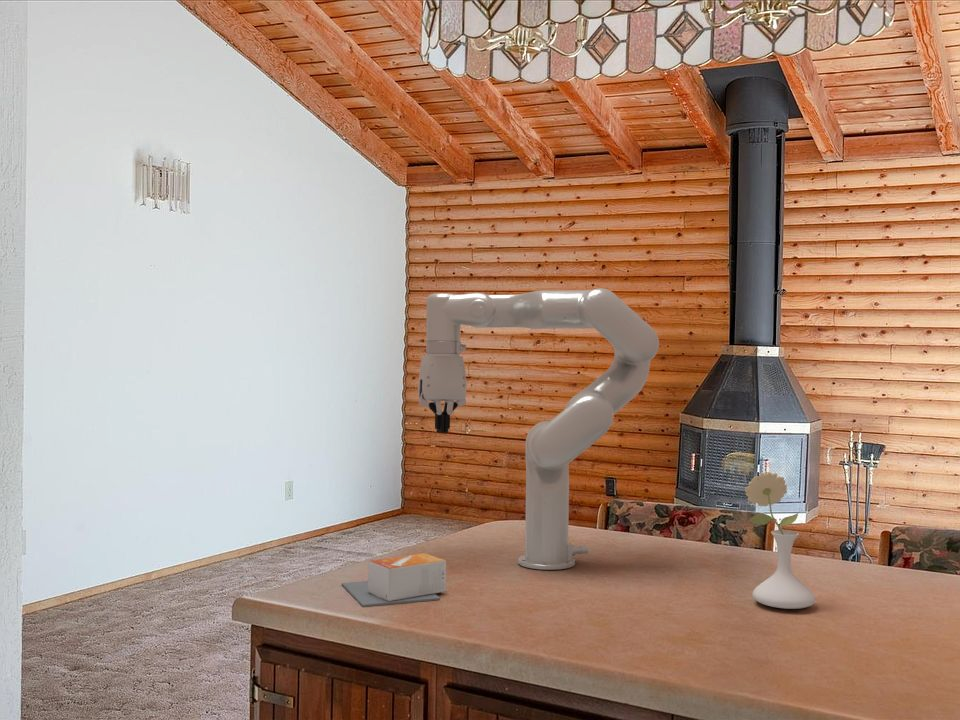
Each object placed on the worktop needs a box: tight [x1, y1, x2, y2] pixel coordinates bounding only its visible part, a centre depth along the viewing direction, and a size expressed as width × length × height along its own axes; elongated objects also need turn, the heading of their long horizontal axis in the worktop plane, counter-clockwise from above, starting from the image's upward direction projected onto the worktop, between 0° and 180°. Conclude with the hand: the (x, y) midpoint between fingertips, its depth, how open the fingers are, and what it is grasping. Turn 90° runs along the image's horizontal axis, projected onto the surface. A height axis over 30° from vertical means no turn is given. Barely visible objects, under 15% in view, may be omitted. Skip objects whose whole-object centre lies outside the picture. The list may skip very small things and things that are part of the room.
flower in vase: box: [744, 471, 817, 610], centre depth 178 cm, size 13×11×25 cm
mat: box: [341, 580, 441, 608], centre depth 185 cm, size 15×17×1 cm
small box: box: [367, 552, 447, 601], centre depth 183 cm, size 8×6×13 cm
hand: (442, 432), depth 209 cm, fingers closed
